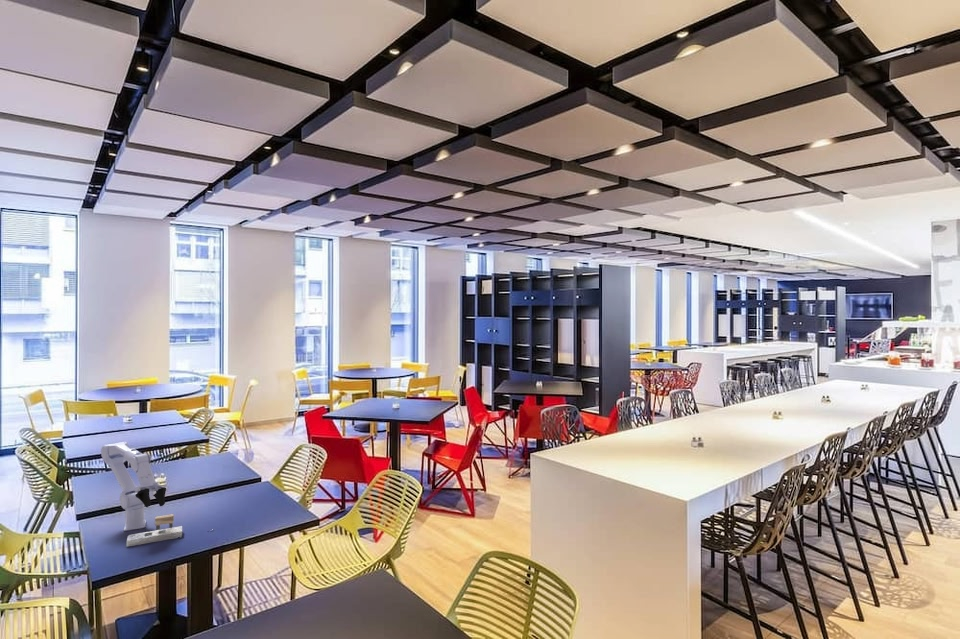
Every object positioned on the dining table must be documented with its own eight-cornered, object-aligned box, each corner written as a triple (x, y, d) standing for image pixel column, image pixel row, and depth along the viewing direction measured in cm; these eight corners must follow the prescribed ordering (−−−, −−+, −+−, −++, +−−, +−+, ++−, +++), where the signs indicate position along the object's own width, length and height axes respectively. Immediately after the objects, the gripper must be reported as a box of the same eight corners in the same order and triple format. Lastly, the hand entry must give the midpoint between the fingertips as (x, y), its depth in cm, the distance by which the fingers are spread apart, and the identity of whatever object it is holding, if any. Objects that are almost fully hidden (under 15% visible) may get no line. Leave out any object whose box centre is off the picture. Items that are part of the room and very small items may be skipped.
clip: (155, 530, 235) (155, 516, 235) (173, 527, 238) (173, 514, 238) (155, 532, 232) (155, 519, 232) (173, 529, 236) (173, 516, 236)
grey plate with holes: (128, 540, 223) (128, 535, 223) (182, 531, 233) (182, 525, 233) (126, 546, 217) (126, 540, 217) (181, 537, 227) (181, 531, 227)
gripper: (140, 473, 226) (149, 501, 222) (166, 473, 240) (175, 499, 235) (127, 482, 227) (136, 510, 222) (153, 482, 240) (163, 508, 235)
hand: (155, 505), depth 228 cm, fingers open, 7 cm apart
